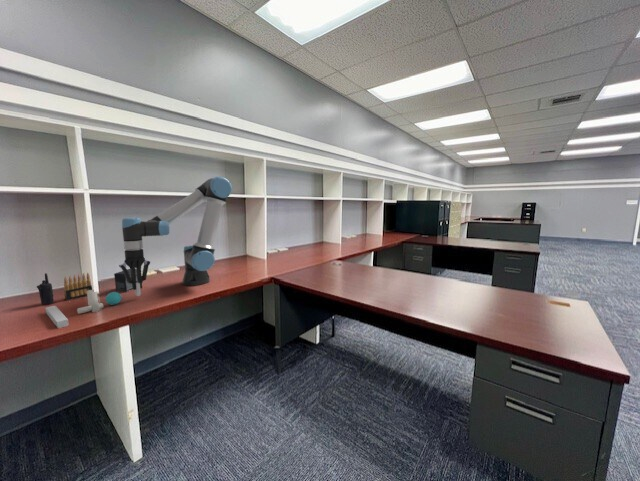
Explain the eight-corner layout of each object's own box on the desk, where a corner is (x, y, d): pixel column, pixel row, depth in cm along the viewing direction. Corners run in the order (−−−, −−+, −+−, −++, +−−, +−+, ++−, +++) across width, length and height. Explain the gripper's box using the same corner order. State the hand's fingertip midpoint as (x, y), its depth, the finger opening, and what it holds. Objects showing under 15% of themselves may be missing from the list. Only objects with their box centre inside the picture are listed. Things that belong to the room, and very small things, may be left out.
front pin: (101, 302, 121) (76, 308, 114) (103, 303, 119) (78, 309, 113) (102, 307, 121) (77, 313, 114) (103, 308, 120) (78, 314, 113)
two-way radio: (56, 303, 126) (51, 272, 124) (44, 306, 122) (39, 275, 120) (47, 301, 127) (43, 271, 125) (36, 305, 123) (31, 274, 121)
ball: (100, 300, 123) (113, 305, 127) (104, 302, 119) (117, 307, 123) (109, 289, 125) (122, 294, 129) (113, 290, 122) (126, 296, 125)
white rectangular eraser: (55, 310, 117) (55, 305, 116) (68, 325, 102) (67, 319, 102) (46, 313, 114) (45, 307, 114) (58, 328, 100) (57, 322, 100)
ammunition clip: (66, 300, 129) (63, 277, 127) (65, 300, 130) (62, 276, 128) (93, 294, 138) (90, 272, 137) (91, 293, 139) (89, 272, 138)
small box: (129, 286, 153) (128, 268, 152) (140, 286, 153) (139, 268, 152) (115, 291, 143) (113, 273, 141) (126, 292, 142) (125, 273, 141)
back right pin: (94, 307, 121) (92, 289, 120) (96, 308, 120) (94, 290, 119) (88, 308, 119) (86, 290, 118) (89, 310, 118) (87, 291, 117)
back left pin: (98, 309, 118) (96, 291, 117) (99, 310, 117) (97, 292, 116) (91, 311, 116) (89, 292, 115) (92, 312, 115) (90, 294, 114)
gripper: (145, 246, 136) (149, 290, 139) (115, 250, 126) (119, 297, 129) (151, 248, 132) (155, 293, 135) (120, 251, 121) (125, 300, 124)
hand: (138, 295), depth 132 cm, fingers closed
